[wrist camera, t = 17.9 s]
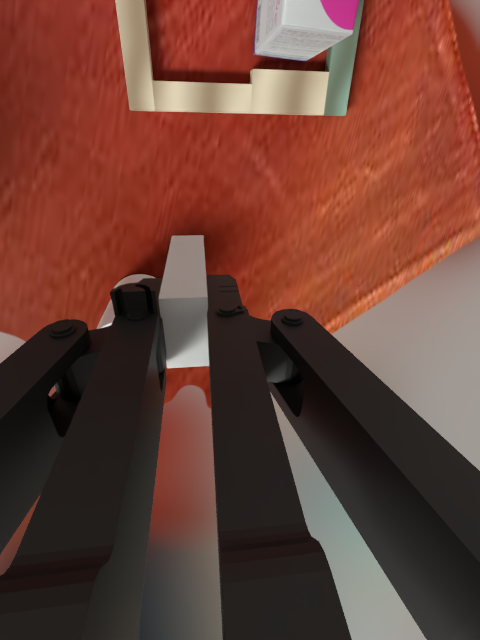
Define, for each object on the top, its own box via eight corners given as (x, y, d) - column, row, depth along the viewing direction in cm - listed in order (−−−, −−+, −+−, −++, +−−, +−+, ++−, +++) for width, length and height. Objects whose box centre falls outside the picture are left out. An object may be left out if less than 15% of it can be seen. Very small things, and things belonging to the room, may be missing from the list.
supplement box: (308, 62, 34) (353, 37, 24) (252, 55, 33) (276, 27, 23) (319, -14, 31) (376, -78, 21) (258, -24, 30) (288, -95, 20)
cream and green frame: (132, 110, 34) (129, 110, 33) (104, -108, 26) (99, -120, 25) (340, 115, 37) (345, 115, 35) (370, -82, 29) (378, -92, 28)
